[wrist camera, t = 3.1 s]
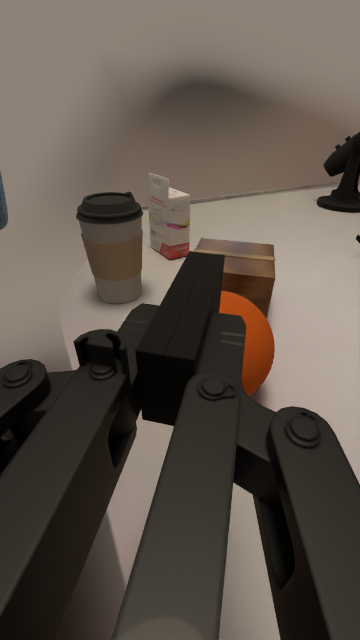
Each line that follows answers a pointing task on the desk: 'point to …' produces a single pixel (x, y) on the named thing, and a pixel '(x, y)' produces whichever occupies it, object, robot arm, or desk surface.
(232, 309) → the ball
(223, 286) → the box
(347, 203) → the microphone
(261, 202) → the desk surface
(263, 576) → the desk surface
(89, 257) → the coffee cup
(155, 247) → the ink cartridge box
